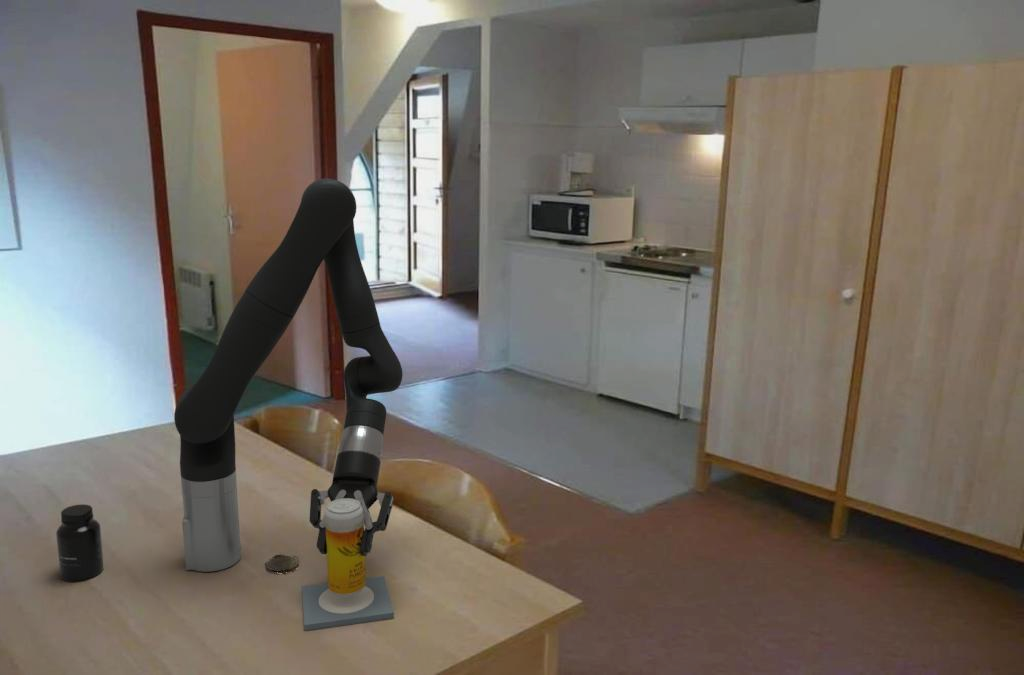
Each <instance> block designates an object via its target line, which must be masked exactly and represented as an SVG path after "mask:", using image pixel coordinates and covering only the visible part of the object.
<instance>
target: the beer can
mask: <svg viewBox="0 0 1024 675" xmlns="http://www.w3.org/2000/svg"><path fill="white" fill-rule="evenodd" d="M324 516H325V527H326V549H327V553H326V563H327V564H326V565H327V566H326V567H327V583H328V588H329V590H330V591H332V593H333V594H334V595H336V596H340V597H349V596H353V595H356V594H358V593H359V592H361V590H362V588H363V587H364V586H365V584H366V578H367V577H366V556H361V554H360V548H361V541H362V535H363V530H365V525H364V518H363V508H362V506H361V504H360V502H359V501H358V500H355V499H350V498H343V499H337V500H334V501H332V502H331V501H330V502H329V503H328V504H327V505H326V509H325V512H324Z"/></svg>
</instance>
